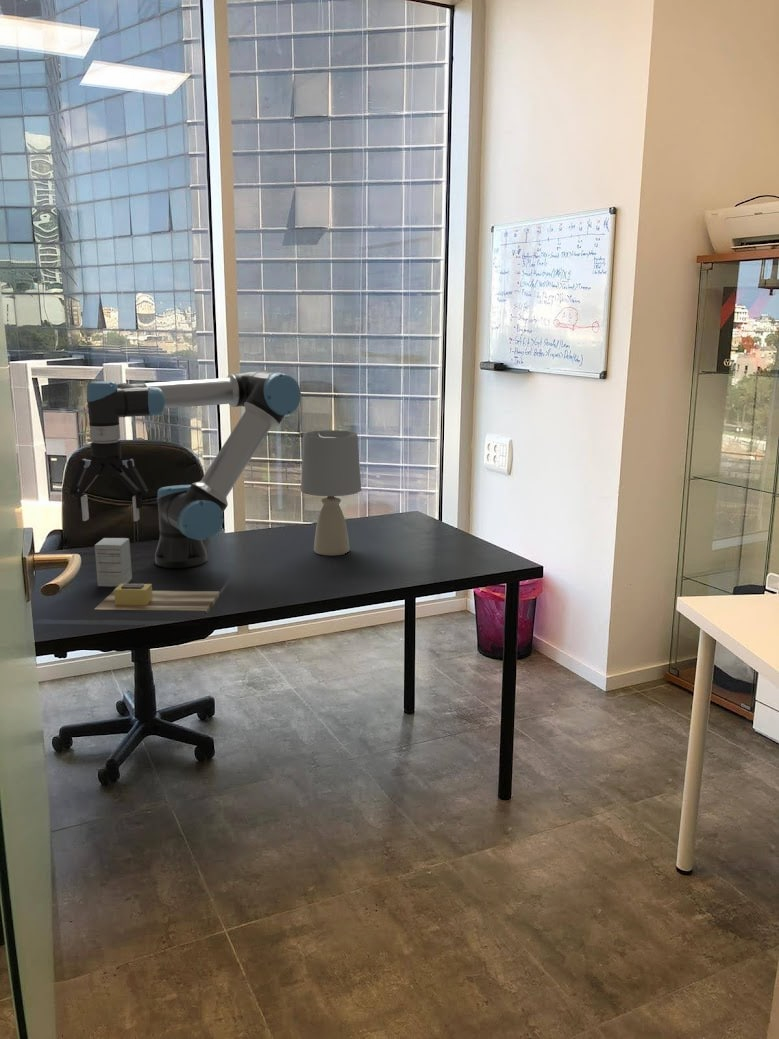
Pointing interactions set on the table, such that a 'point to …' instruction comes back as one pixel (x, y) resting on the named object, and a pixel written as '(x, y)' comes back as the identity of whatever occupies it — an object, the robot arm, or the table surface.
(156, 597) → the plywood panel
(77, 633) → the table surface
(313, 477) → the lamp
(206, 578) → the table surface
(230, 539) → the table surface
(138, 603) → the block
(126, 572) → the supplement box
